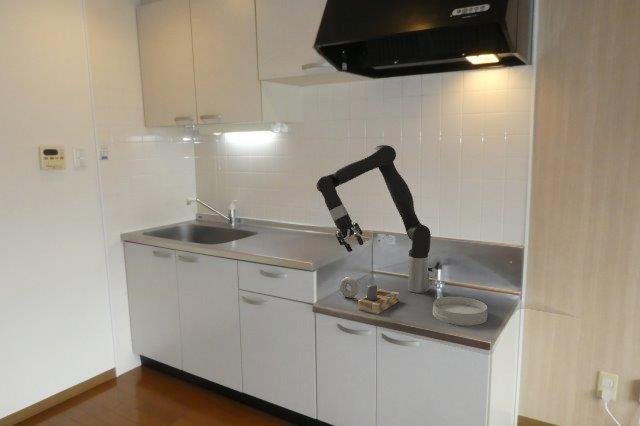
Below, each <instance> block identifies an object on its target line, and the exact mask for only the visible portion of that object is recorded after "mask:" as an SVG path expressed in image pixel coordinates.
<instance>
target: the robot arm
mask: <svg viewBox="0 0 640 426" xmlns="http://www.w3.org/2000/svg"><path fill="white" fill-rule="evenodd" d="M396 157H397V152H396V149H395V148H394V147H393V146H391V145H387V144H380V145H377V146H375V148H374V149H373V152H372V154H370V155H369V156H367V157H365V158H362V159H360V160H357V161H354V162H351V163H349V164H346V165H344V166H342V167H340V168H338V169H336V170H335V171H334V172H332V173H330V174H327V175H324V176H321V177H319V178H318V180H317V182H316V184H315V185H316V189H317V191H319V192H320V193H321V195H322V197H323V199H324V203H325V206H326V207H327V209H328V211H329V214H330V216H331V219H332V220H333V223H334V225H335V227H336V229H338V230H339V231H337V232H336V233H335V236H336V239H337V241H338V243H339V245H340V246H344V247H345V249H346V251H347V252H348V253H351V252H353V248H352V246H351V244H350V243H349V239H350V237H355V238H356V241H357V243H358V244H359V246H360V247H361V246H362V245H364V244H365V243H364V241H363V238H362V235H363V231H362V229H361V227H360V225H359V223H358V222H354V223H353V220H352V219H351V217H350V214H349V212H348V211H347V209H346V207H345V206H344V204H343V201H342V200H341V198H340V196H339V194H338V192H337V187H339V186H341V185H343V184H346V183H348V182H349V181H352V180H354V179H356V178H357V177H359V176H362V175H364V174H366V173H368V172H371V171H373V170H375V169H379V171H380V173H381V175H382V177H383V180H384V183H385V185H386V187H387V190H388V192H389V194H390V197H391V199H392V201H393V203H394V206H395V207H396V211H397V212H398V214H399V216H400V217H401V219H402V223H403V226H404V230H405V232H406V235H407V237H408V239H409V240H411V249H409V250H408V276H407V277H408V278H407V280H408V281H407V290H408V291H409V292H411V293H415V294H422V293H426V292H428V291H430V271H428V268H429V264H428V263H429V253H430V250H431V236H432V235H431V234H432V233H431V230H430V228H429V227H428V226H427V225H425V224H423V223H421V222H420V219H419V218H418V216H417V213H416V211H415V204H414V198H413V194H412V193H411V190H410V188H409V186H408V184H407V182H406V181H405V179H404V178H403V176H402V175H401V174H400V173H399V171H398V170H397V168H396V166H395V164H394V161H395V160H396V159H397V158H396Z"/></svg>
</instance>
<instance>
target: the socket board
mask: <svg viewBox="0 0 640 426" xmlns="http://www.w3.org/2000/svg"><path fill="white" fill-rule="evenodd" d="M398 302H400V292H396V291H391V290H385V289H381V288H380V289H377V301H376V302H373V301H368V300H367V295H365V296H364V297H362V298H360V299H358V300H357V310H359V311H363V312H369V313H373V314H377V315H379V314H381V313H382V312H384V311H385V310H387V309H389V308H390V307H392V306H394V305H395V304H397V303H398Z"/></svg>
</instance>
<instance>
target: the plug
mask: <svg viewBox="0 0 640 426" xmlns="http://www.w3.org/2000/svg"><path fill="white" fill-rule="evenodd" d="M377 290H378V285H377V284H373V283H372V284H367V285H366V296H367V300H368V301H373V302H376V301H377Z"/></svg>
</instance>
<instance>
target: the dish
mask: <svg viewBox="0 0 640 426" xmlns="http://www.w3.org/2000/svg"><path fill="white" fill-rule="evenodd" d="M432 315H434V316H433V318H435V317H436V318H435V319H437V320H438V319H439V320H438V321H441V322H443V321H444V322H443V323H446V322H447V324H450V323H451V325H458V326H476V325H481V324H484V323H486V322H487V320H488V305H486V303H484V302H482V301H481V300H477V299H474V298H470V297H465V296H442V297H439V298H436V299H435V300H434V301H433V307H432Z"/></svg>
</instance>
